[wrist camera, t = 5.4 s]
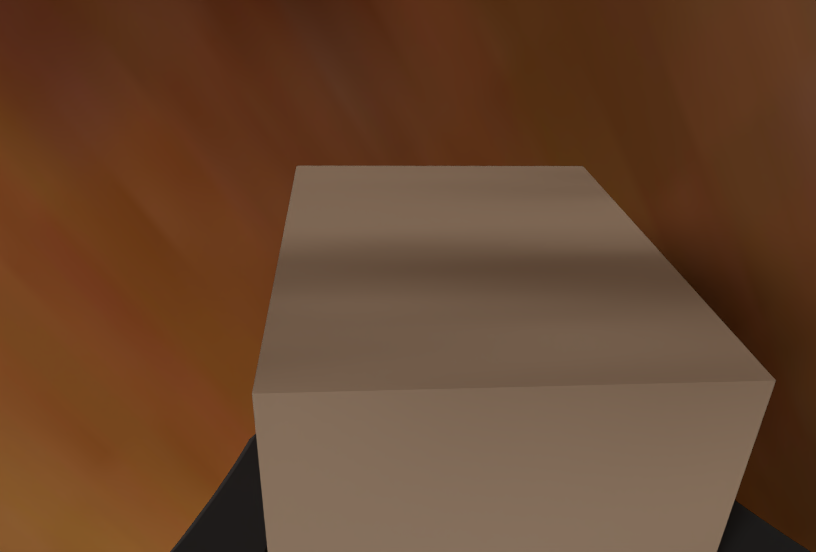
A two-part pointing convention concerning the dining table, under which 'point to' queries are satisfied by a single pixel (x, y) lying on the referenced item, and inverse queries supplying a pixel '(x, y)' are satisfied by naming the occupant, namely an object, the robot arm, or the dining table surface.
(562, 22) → the dining table surface
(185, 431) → the dining table surface
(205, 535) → the robot arm
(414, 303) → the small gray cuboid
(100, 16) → the dining table surface
